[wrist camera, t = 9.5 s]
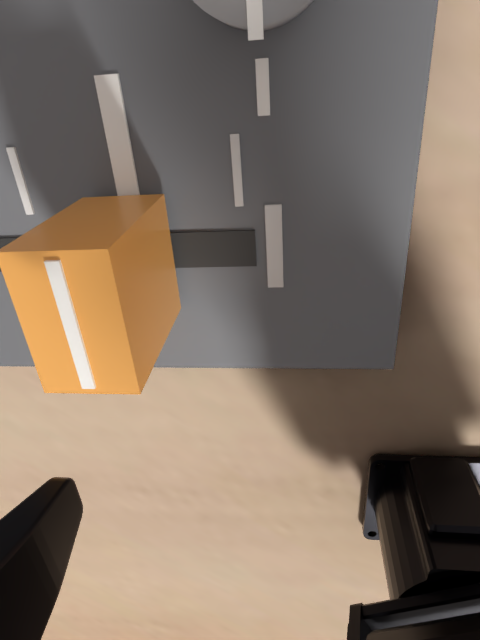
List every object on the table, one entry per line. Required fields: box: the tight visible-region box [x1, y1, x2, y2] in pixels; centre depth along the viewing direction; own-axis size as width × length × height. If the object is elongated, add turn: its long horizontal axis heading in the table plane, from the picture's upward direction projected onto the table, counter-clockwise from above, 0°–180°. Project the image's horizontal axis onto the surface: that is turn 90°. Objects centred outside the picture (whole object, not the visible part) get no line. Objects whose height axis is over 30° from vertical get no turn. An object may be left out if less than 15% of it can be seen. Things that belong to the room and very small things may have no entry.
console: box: [0, 0, 438, 369], centre depth 16 cm, size 18×26×4 cm
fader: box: [0, 194, 181, 394], centre depth 15 cm, size 4×3×6 cm, turn 4°
